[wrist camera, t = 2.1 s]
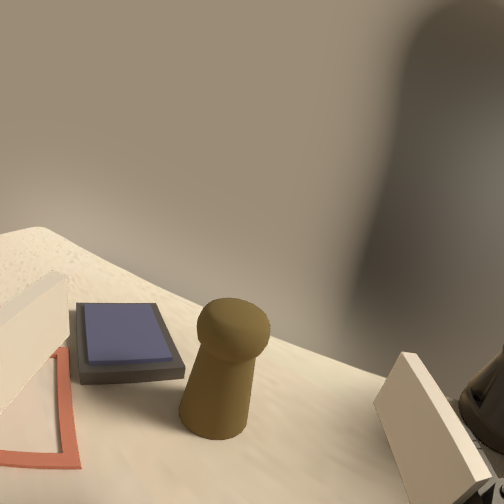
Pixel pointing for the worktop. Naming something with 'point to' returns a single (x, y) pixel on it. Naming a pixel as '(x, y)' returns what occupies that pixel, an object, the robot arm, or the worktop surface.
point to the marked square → (67, 428)
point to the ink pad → (125, 344)
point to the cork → (224, 368)
